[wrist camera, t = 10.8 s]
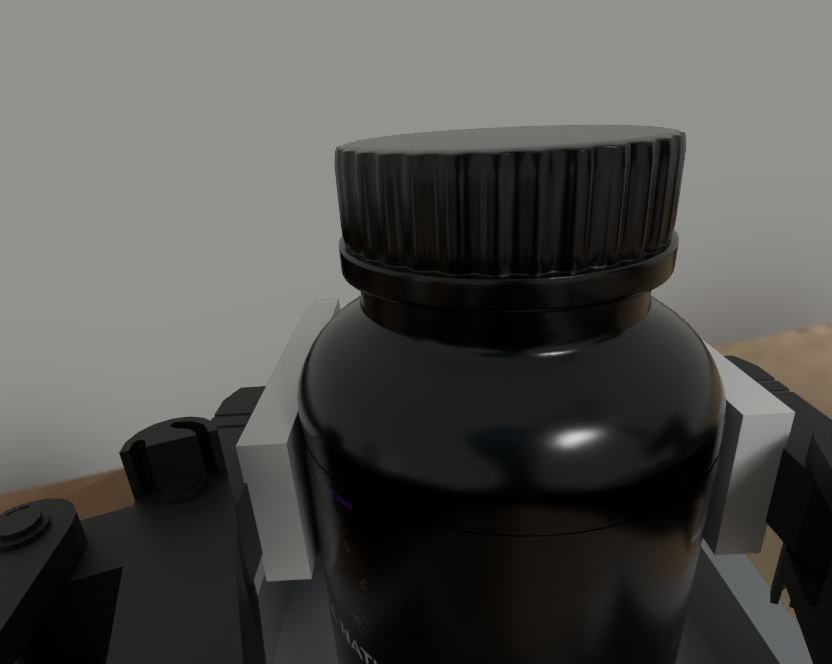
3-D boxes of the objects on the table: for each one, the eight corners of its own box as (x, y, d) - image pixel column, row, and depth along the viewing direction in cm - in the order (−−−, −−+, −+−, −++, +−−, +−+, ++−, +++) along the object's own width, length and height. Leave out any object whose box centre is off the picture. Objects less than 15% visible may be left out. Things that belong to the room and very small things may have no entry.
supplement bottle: (298, 834, 10) (118, 171, 5) (393, 555, 16) (348, 132, 11) (699, 941, 8) (938, 129, 4) (636, 586, 14) (697, 111, 10)
